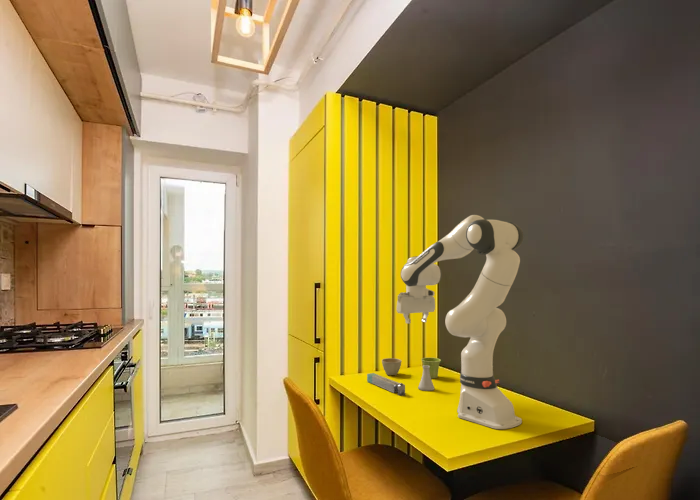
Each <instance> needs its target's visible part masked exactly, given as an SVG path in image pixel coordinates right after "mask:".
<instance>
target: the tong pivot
mask: <svg viewBox="0 0 700 500" xmlns="http://www.w3.org/2000/svg"><path fill="white" fill-rule="evenodd" d="M399 383H400V384H398V385H397V396H401V397H402V396H405V395H406V384H405V383H402V382H399Z"/></svg>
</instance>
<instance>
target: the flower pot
mask: <svg viewBox="0 0 700 500" xmlns="http://www.w3.org/2000/svg"><path fill="white" fill-rule="evenodd" d="M381 364H382V368H383V370H384V372H385V374H386V375H387V376H390V375H395V376H397V375H398V373H399V372H400V369H401V366H402V360H401V359H399V358H394V357H393V358H392V357H390V358H389V357H387V358H383V359H381Z"/></svg>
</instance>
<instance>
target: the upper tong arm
mask: <svg viewBox="0 0 700 500" xmlns="http://www.w3.org/2000/svg"><path fill="white" fill-rule="evenodd" d="M366 377H367V378H366V381H367V383H370V384H373V385H374V386H377V387H379V388H382V389H385V391H386V390H387V391H389V392H391V393H393V394H395V393H397V384H395V383H392V382H390V381H387V380H385V379H382V378H380V377H377V376H375V375H373V374H370V373H367V374H366Z"/></svg>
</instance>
